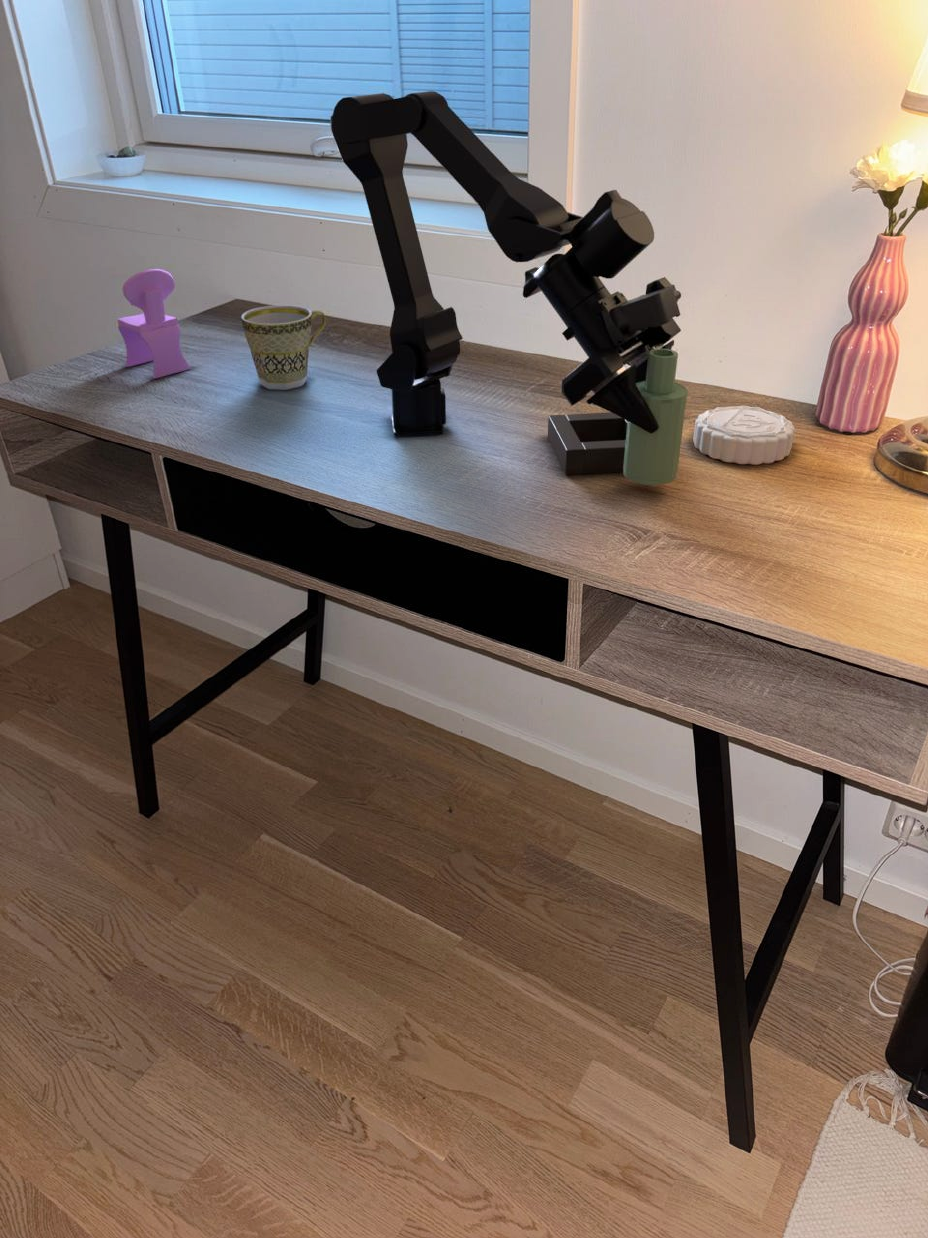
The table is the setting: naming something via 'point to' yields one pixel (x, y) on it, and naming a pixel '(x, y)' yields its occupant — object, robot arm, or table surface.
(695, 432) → the mooncake
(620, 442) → the holder
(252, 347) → the ceramic cup
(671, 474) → the vase
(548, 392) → the table surface
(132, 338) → the toy chair
